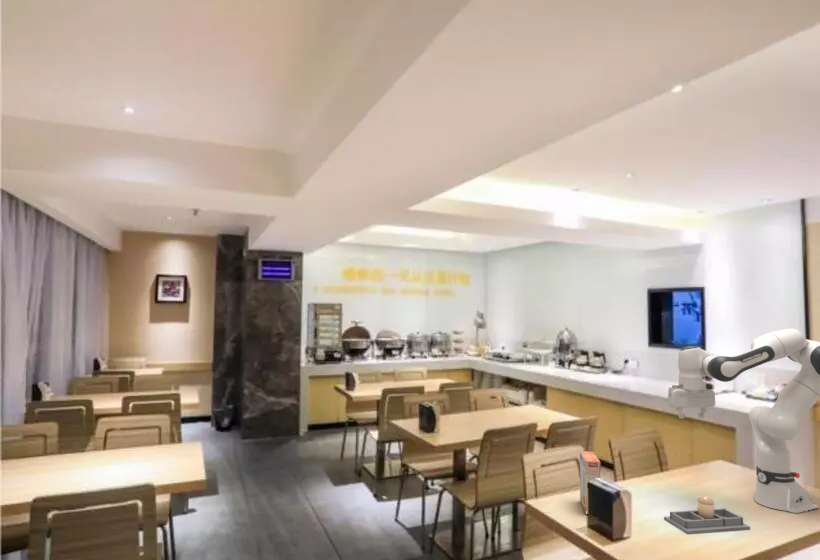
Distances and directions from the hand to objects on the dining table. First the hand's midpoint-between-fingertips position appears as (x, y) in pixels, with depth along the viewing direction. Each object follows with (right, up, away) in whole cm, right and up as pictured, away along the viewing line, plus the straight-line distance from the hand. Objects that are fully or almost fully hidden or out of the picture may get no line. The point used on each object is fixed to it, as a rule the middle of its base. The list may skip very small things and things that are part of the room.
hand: (691, 417), depth 199 cm
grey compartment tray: (-7, -34, -22) cm, 41 cm away
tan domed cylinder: (-7, -33, -22) cm, 40 cm away
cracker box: (-46, -34, -9) cm, 58 cm away
